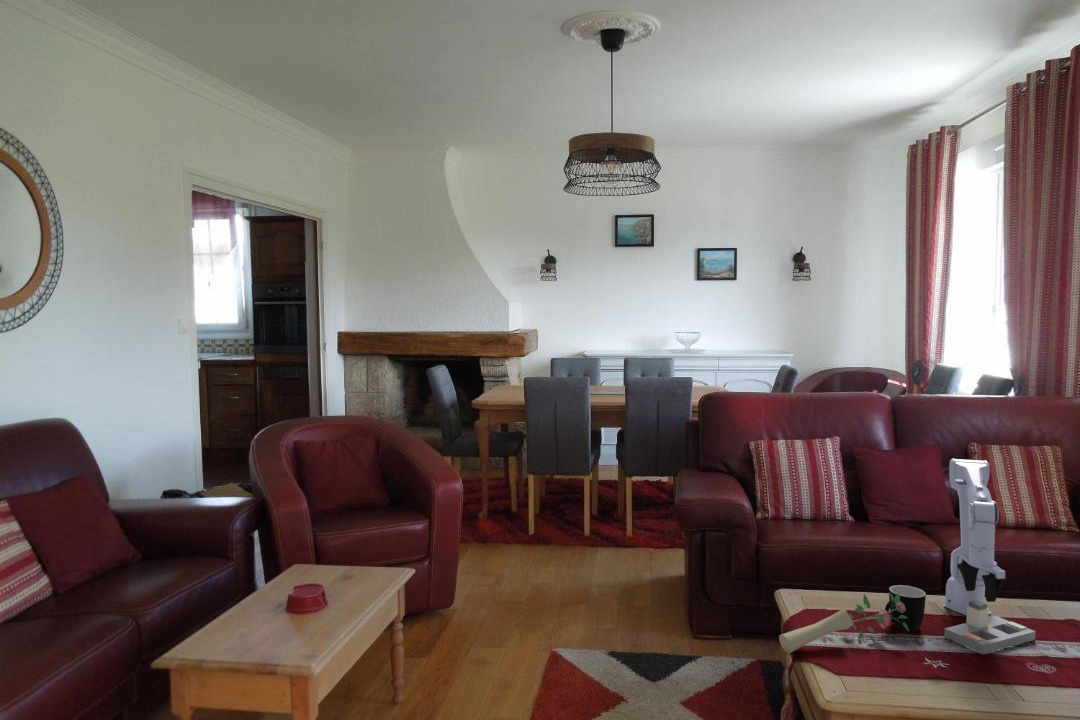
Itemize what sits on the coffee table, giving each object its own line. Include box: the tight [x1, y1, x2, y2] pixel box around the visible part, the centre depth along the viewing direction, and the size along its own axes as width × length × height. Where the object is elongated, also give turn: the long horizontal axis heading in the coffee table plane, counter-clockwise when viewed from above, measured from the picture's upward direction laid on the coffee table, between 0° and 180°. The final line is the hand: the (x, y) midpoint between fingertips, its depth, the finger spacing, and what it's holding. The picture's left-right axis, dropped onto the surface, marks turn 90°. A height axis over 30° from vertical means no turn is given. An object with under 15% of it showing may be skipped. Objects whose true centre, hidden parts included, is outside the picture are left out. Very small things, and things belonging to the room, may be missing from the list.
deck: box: [943, 615, 1036, 655], centre depth 195 cm, size 11×20×3 cm, turn 113°
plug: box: [966, 600, 990, 628], centre depth 198 cm, size 4×4×6 cm
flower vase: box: [778, 593, 910, 654], centre depth 192 cm, size 12×12×35 cm
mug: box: [884, 584, 926, 632], centre depth 202 cm, size 12×9×10 cm
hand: (980, 595), depth 197 cm, fingers open, 7 cm apart
